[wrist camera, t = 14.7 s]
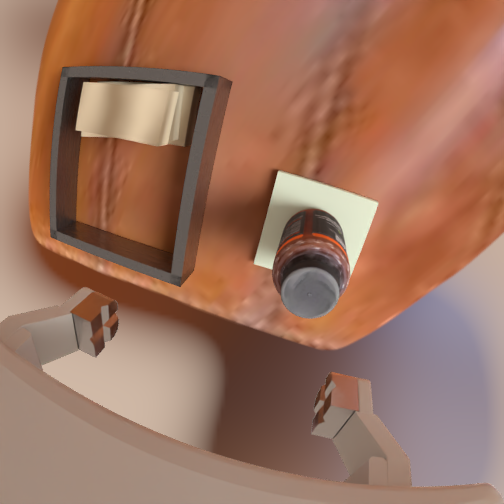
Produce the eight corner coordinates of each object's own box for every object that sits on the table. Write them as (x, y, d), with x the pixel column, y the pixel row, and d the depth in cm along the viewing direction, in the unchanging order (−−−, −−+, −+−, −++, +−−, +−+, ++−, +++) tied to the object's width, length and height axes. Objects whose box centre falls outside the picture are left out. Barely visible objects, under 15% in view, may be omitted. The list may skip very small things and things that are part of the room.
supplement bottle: (275, 252, 32) (253, 314, 22) (294, 198, 30) (279, 239, 19) (330, 271, 32) (332, 340, 22) (352, 219, 29) (368, 270, 19)
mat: (377, 201, 29) (378, 202, 28) (343, 287, 33) (344, 291, 32) (279, 170, 30) (278, 171, 29) (255, 260, 34) (253, 263, 33)
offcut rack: (232, 81, 27) (219, 76, 24) (193, 270, 36) (180, 286, 32) (84, 69, 29) (62, 67, 25) (69, 226, 38) (50, 237, 34)
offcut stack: (202, 88, 28) (176, 82, 23) (191, 146, 31) (165, 152, 25) (107, 82, 29) (73, 80, 24) (100, 133, 32) (66, 138, 27)
